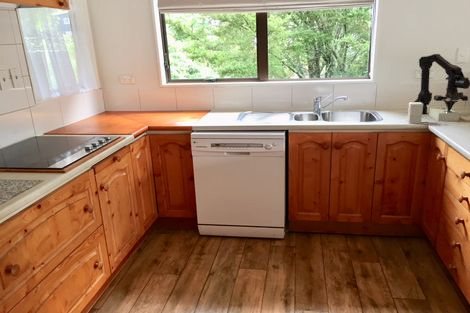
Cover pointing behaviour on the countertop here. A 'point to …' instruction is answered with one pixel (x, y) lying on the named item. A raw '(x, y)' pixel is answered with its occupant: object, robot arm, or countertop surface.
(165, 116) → the countertop surface
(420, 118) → the supplement box
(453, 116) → the socket block
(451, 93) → the robot arm
